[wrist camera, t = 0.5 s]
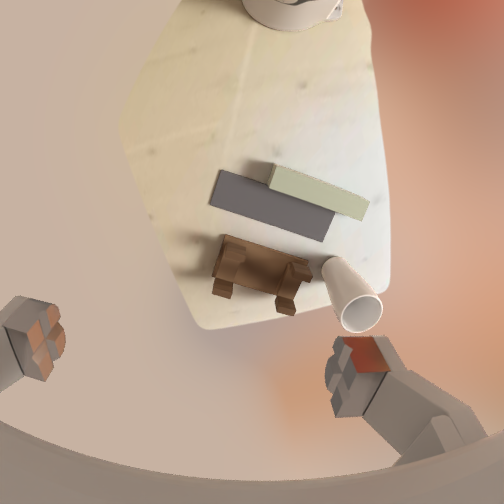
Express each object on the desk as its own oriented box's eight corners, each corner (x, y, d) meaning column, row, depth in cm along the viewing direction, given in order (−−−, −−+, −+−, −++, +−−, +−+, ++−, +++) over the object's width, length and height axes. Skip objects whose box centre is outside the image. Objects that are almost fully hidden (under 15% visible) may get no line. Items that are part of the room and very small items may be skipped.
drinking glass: (358, 262, 54) (392, 305, 41) (337, 290, 57) (363, 339, 43) (331, 244, 53) (360, 286, 39) (309, 274, 55) (330, 323, 41)
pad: (221, 169, 47) (221, 169, 47) (335, 210, 50) (336, 210, 50) (210, 204, 49) (209, 204, 49) (321, 241, 53) (322, 242, 52)
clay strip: (266, 183, 49) (268, 188, 45) (274, 163, 47) (276, 166, 44) (353, 214, 51) (361, 221, 47) (361, 196, 50) (369, 201, 46)
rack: (225, 234, 51) (223, 248, 45) (307, 260, 54) (315, 277, 48) (212, 274, 54) (208, 292, 48) (290, 297, 57) (295, 317, 51)
